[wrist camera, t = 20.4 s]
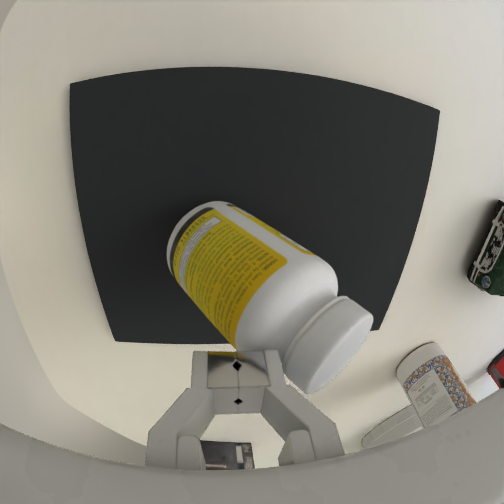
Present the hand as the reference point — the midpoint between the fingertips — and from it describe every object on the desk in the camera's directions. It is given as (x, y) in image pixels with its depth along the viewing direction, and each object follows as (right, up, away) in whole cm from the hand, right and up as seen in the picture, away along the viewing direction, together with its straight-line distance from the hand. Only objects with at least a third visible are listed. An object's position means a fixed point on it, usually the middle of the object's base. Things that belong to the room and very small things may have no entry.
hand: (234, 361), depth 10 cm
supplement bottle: (-2, +5, +7) cm, 8 cm away
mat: (+1, +5, +9) cm, 10 cm away
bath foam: (+22, -10, +20) cm, 32 cm away
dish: (+34, -32, +34) cm, 57 cm away
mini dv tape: (-4, -25, +26) cm, 36 cm away
